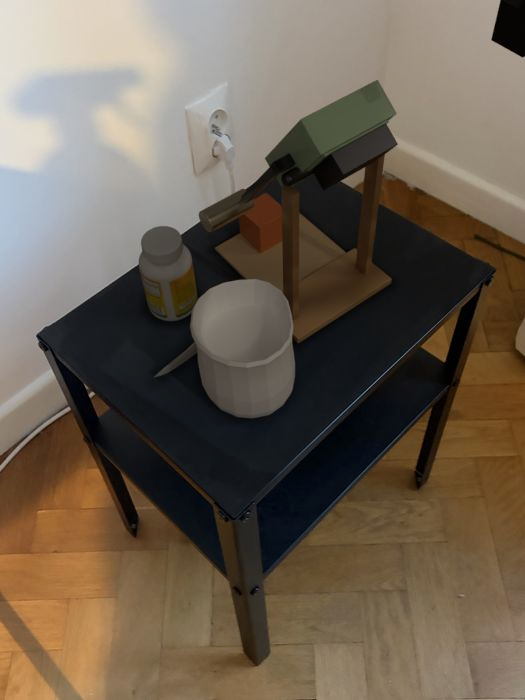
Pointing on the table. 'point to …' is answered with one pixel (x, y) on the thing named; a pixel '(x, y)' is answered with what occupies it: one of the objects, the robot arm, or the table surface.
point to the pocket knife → (179, 360)
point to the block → (262, 223)
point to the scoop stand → (331, 264)
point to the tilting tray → (319, 150)
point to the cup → (245, 347)
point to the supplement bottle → (167, 274)
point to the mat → (280, 255)
